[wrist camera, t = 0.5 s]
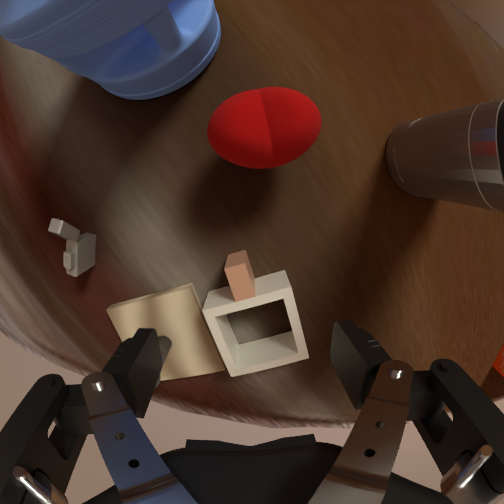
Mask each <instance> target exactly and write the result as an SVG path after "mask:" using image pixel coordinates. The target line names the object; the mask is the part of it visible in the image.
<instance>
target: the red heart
mask: <svg viewBox="0 0 504 504" xmlns="http://www.w3.org/2000/svg"><path fill="white" fill-rule="evenodd" d="M321 124H322V123H321V115H320V112H319V110H318V108H317V106H316V105H315V104H314V103H313V101H312V100H310V99H309V98H308V97H307V96H306V95H304V94H302V93H300V92H298V91H295V90H292V89H289V88H282V87H266V88H261V89H256V90H248V91H244V92H241V93H238V94H236V95H234V96H232V97H230V98H228V99H227V100H225V101H224V102H223V103H222V104H220V105H219V106H218V108H217V109H216V110H215V111H214V113H213V114H212V116H211V118H210V120H209V124H208V128H207V134H208V140H209V142H210V145H211V146H212V148H213V149H214V150H215V152H216V153H218V154H219V155H220V156H221V157H222V158H224V159H226V160H227V161H229V162H231V163H234V164H237V165H239V166H243V167H248V168H258V169H265V168H274V167H277V166H281V165H284V164H286V163H288V162H291V161H293V160H295V159H296V158H298V157H299V156H301V155H302V154H304V153H305V152H306V151H307V150H308V149H309V148H310V147H311V146H312V145H313V143H314V142H315V141H316V139H317V137H318V135H319V133H320V129H321Z"/></svg>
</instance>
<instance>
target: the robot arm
mask: <svg viewBox="0 0 504 504" xmlns="http://www.w3.org/2000/svg"><path fill="white" fill-rule="evenodd" d="M386 160H387V166H388V169H389V172H390V174H391V176H392V178H393V180H394V181H395V183H396V184H397V185H398V187H400V188H401V189H402V190H403V191H404V192H406V193H408V194H410V195H414V196H419V197H425V198H431V199H436V200H442V201H448V202H454V203H459V204H464V205H469V206H474V207H479V208H484V209H489V210H493V211H498V212H503V213H504V98H503V99H498V100H493V101H488V102H483V103H480V104H475V105H471V106H466V107H462V108H458V109H454V110H450V111H446V112H443V113H439V114H435V115H431V116H428V117H424V118H420V119H417V120H414V121H410V122H407V123H404V124H402V125H399V126H398V127H397V128H395V129H394V130H393V132H392V133H391V134H390V137H389V139H388V141H387V147H386ZM330 358H331V362H332V365H333V367H334V368H335V370H336V372H337V374H338V376H339V378H340V380H341V382H342V384H343V386H344V388H345V390H346V392H347V394H348V396H349V398H350V400H351V402H352V404H353V406H354V408H355V410H357V409H361V412H360V414H359V416H358V418H357V420H356V422H355V425H354V427H353V429H352V431H351V433H350V435H349V437H348V439H347V441H346V443H345V445H344V447H341V446H338V445H334V444H329V443H323V442H316V440H315V437H314V434H309V435H302V436H295V437H285V438H280V439H278V440H274V441H270V442H266V443H262V444H258V445H254V446H245V445H238V444H232V443H227V442H221V441H212V440H188V439H187V441H186V447H185V448H180V449H176V450H172V451H169V452H166V453H163V454H161V455H159V454H158V453H157V451H156V450H155V448H154V446H153V445H152V443H151V442H150V440H149V439H148V437H147V436H146V434H145V432H144V431H143V429H142V427H141V425H140V424H139V422H138V420H137V419H136V417H137V418H144V416H145V413H146V410H147V408H148V405H149V402H150V399H151V397H152V394H153V391H154V389H155V386H156V383H157V381H158V378H159V375H160V373H161V370H162V363H163V362H162V354H161V350H160V345H159V340H158V335H157V331H156V329H155V328H138V330H137V331H136V333H135V334H134V336H133V337H132V338H128V339H126V340H125V341H123V342H122V343H121V344H120V345H119V347H118V348H117V351H115V352H114V354H113V356H112V357H111V358H110V360H109V361H108V363H107V364H106V366H105V367H104V369H103V370H102V372H95V373H91V374H89V375H88V376H86V377H85V378H84V379H83V381H82V383H81V384H78V385H77V384H76V385H66V384H65V382H64V380H63V378H62V377H61V376H60V375H57V374H48V375H45V376H43V377H41V378H40V379H38V380H37V382H36V383H35V384H34V385H33V387H32V388H31V390H30V391H29V392H28V393H27V395H26V396H25V397H24V399H23V400H22V402H21V403H20V404H19V406H18V407H17V408H16V410H15V411H14V413H13V414H12V415H11V417H10V418H9V420H8V421H7V423H6V424H5V426H4V427H3V429H2V430H1V432H0V504H68V500H67V498H66V496H65V495H64V494H65V492H66V489H67V486H68V483H69V480H70V477H71V475H72V472H73V469H74V467H75V464H76V462H77V459H78V457H79V454H80V451H81V449H82V447H83V444H84V442H85V439H86V437H87V435H88V434H94V436H95V439H96V442H97V444H98V447H99V449H100V452H101V454H102V457H103V459H104V461H105V464H106V466H107V468H108V470H109V473H110V475H111V477H112V479H113V481H114V483H115V485H114V486H112V487H110V488H109V489H107V490H105V491H104V492H102V493H100V494H98V495H97V496H95V497H93V498H91V499H90V500H88V501H86V502H84V503H82V504H497V503H498V502H499V501H500V500H502V499H503V498H504V414H503V413H502V412H501V411H500V409H499V408H498V407H497V406H496V405H495V404H494V403H493V401H492V400H491V399H490V398H489V397H488V396H487V395H486V394H485V393H484V391H483V390H482V389H481V388H480V387H479V386H478V385H477V384H476V383H475V382H474V381H473V380H472V379H471V377H470V376H469V375H468V374H467V373H466V372H465V371H464V370H463V369H462V368H461V367H460V366H459V365H458V364H457V363H456V362H454V361H452V360H449V359H437V360H435V361H434V362H432V364H431V367H430V370H427V371H413V369H412V367H411V366H410V365H409V364H407V363H406V362H403V361H400V360H392V359H391V358H390V356H389V355H388V354H387V353H386V352H385V350H384V349H383V348H382V347H381V346H380V344H379V343H378V342H377V341H375V339H374V337H373V336H372V335H371V334H370V333H368V332H366V331H365V330H363V329H358V328H357V327H356V325H355V324H354V323H353V322H352V321H351V320H347V321H338V322H335V323H334V325H333V332H332V341H331V349H330ZM446 405H447V407H448V408H449V409H450V411H451V412H452V415H453V422H452V420H451V419H450V418H449V416H448V415H447V413H446V412H445V410H444V408H445V406H446ZM53 421H54V422H55V424H56V425H55V427H54V429H53V431H52V433H51V435H50V437H49V439H48V429H49V427H50V425H51V423H52V422H53ZM406 421H413V423H414V425H415V426H416V428H417V430H418V432H419V434H420V435H421V437H422V439H423V441H424V442H425V444H426V446H427V448H428V450H429V452H430V453H431V455H432V457H433V459H434V461H435V463H436V464H437V466H438V468H439V470H440V472H441V474H442V476H443V478H442V480H441V485H440V486H441V493H440V492H438V491H435V490H433V489H430V488H427V487H425V486H422V485H420V484H417V483H415V482H413V481H410V480H408V479H406V478H404V477H401V476H399V475H397V474H395V473H393V472H391V471H392V468H393V465H394V462H395V459H396V456H397V453H398V450H399V446H400V443H401V439H402V436H403V432H404V428H405V424H406Z"/></svg>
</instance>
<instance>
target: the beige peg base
mask: <svg viewBox="0 0 504 504" xmlns="http://www.w3.org/2000/svg"><path fill="white" fill-rule="evenodd" d="M202 309H203V308H202V306H201V303H200V301H199V298H198V296H197V293H196V291H195V288H194V285H193V283H190V284H187V285H183V286H179V287H176V288H172V289H168V290H165V291H161V292H157V293H154V294H150V295H146V296H143V297H139V298H135V299H131V300H128V301H124V302H120V303H116V304H113V305H111V306H109V307H108V308H107V309H106V310H107V313H108V315H109V317H110V319H111V321H112V323H113V325H114V327H115V329H116V331H117V333H118V334H119V336H120V338H121V340H122V342H123V341H125V340H126V339H128V338H132V337H133V336H134V334H135V333H136V331H137V330H138V328H155V329H156V331H157V335H158V340H159V345H160V350H161V354H162V362H163V363H162V370H161V373H160V375H159V378H158V381H157V383H156V386H155V388H156V387H157V386H158V385H159V383H160V381H163V380H170V379H178V378H184V377H191V376H197V375H203V374H208V373H214V372H219V371H224V370H225V369H226V365H225V363H224V360H223V358H222V356H221V354H220V352H219V349H218V347H217V345H216V342H215V340H214V338H213V335H212V333H211V331H210V328H209V326H208V324H207V321H206V319H205V316H204V314H203V312H202Z"/></svg>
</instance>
